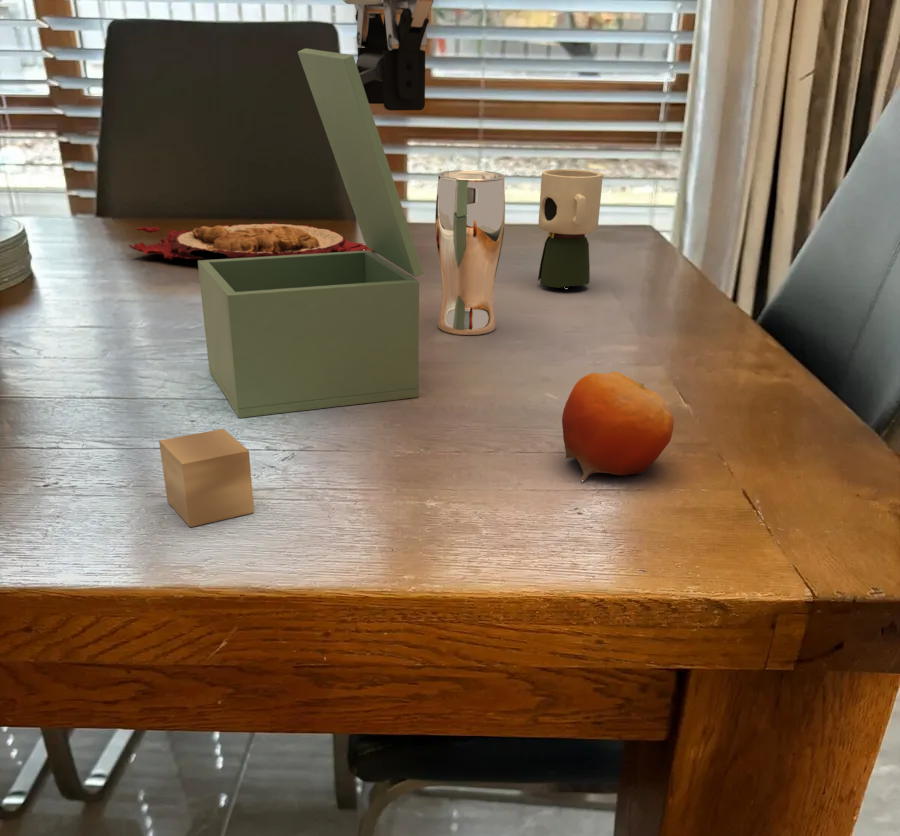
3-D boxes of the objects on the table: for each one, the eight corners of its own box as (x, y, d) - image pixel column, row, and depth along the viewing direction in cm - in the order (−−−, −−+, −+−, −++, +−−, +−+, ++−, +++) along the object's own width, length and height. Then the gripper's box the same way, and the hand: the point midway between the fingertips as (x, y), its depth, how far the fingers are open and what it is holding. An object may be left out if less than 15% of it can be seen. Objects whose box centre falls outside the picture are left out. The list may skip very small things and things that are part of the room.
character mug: (525, 277, 124) (532, 166, 117) (579, 276, 125) (589, 166, 118) (545, 298, 115) (553, 179, 108) (603, 297, 116) (615, 179, 109)
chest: (238, 418, 79) (227, 295, 74) (209, 371, 89) (197, 260, 84) (418, 397, 84) (419, 281, 79) (372, 355, 94) (370, 250, 89)
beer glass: (462, 340, 99) (467, 181, 92) (420, 325, 104) (421, 172, 96) (513, 329, 103) (521, 176, 95) (470, 315, 108) (475, 167, 100)
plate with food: (295, 285, 118) (294, 256, 117) (129, 255, 127) (126, 227, 126) (389, 253, 137) (390, 227, 135) (238, 229, 146) (237, 204, 144)
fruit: (518, 437, 73) (575, 342, 71) (593, 477, 77) (650, 388, 75) (566, 479, 66) (631, 376, 64) (645, 520, 71) (709, 424, 68)
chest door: (343, 58, 69) (405, 32, 70) (297, 51, 79) (352, 28, 80) (415, 277, 79) (469, 252, 80) (366, 246, 89) (414, 224, 90)
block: (190, 527, 62) (181, 463, 60) (167, 502, 65) (158, 440, 63) (254, 512, 64) (249, 450, 62) (229, 488, 67) (223, 428, 65)
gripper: (304, -170, 74) (315, 98, 83) (377, -208, 61) (381, 117, 70) (397, -161, 77) (398, 98, 86) (488, -196, 63) (477, 116, 72)
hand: (390, 103), depth 78 cm, fingers open, 5 cm apart
